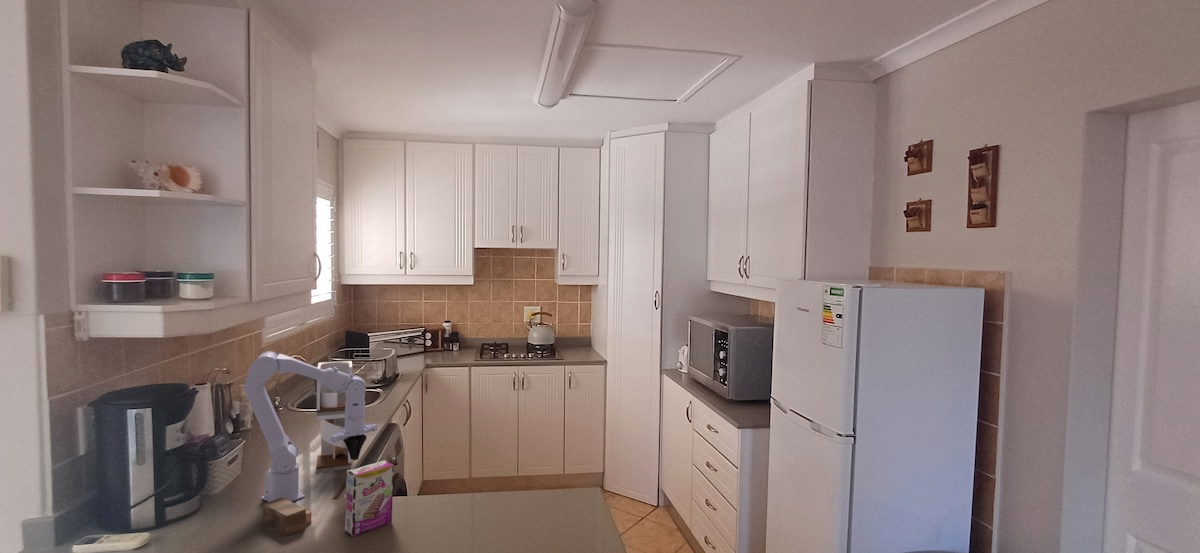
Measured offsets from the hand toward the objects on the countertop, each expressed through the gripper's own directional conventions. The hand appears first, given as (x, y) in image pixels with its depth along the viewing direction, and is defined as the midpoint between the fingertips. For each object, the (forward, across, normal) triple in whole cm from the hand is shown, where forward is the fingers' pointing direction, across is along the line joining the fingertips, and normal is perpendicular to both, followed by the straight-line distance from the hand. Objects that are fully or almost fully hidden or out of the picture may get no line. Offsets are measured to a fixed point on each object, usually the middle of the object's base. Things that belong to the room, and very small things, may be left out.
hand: (354, 459), depth 170 cm
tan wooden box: (+9, -24, -6) cm, 27 cm away
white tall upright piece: (+10, +8, +23) cm, 26 cm away
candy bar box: (+10, -12, -25) cm, 29 cm away
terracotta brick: (+10, -23, -6) cm, 25 cm away
